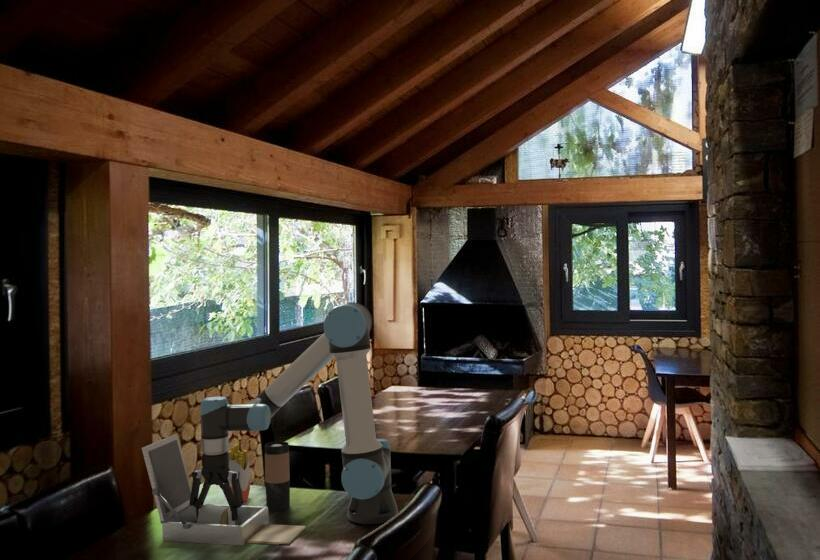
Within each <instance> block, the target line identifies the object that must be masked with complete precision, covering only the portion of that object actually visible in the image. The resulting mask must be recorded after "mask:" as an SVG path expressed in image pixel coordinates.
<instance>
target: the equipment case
mask: <svg viewBox="0 0 820 560" xmlns="http://www.w3.org/2000/svg"><path fill="white" fill-rule="evenodd" d="M180 442H181V441H180V440H179V436H178V433H176V434H172V435H170V436H168V437H166V438H165V437H164V438H163V439H160V440H157V441H155V442H153V443H151V444H148V445H146V446H143V447H141V451H142V455H143V459H144V463H145V466H146V470H147V473H148V479H149V481H150V486H151V489H152V491H151V492H152V496H154V501H155V505H156V508H157V512H158V515H159V520H160V521H159V522H160V524H161V527H162V541H163V542H179V543H195V544H197V543H199V544H214V545H229V546H231V545H232V546H244V545H246V544H247V543H248V540H249V539H250V538H251V537H252V536H254V535H255V534H256V533H257V532H258V531H260V530H261V529H262V528H263V527H264V526H265V525H267V524H269V510H268V507H267V506H264V505H263V506H262V505H261V506H259V505H242V506H241V507H240V508H238V509H237V510H238V518H237V520H235V525H222V524H203V523H197V518H196V508H195V507H194V506H190V505H189V502H190V496H191V489H192V483H191V481H190V476H189V474H188V470H187V465H186V462H185V458H184V453H183V451H182V446H181V444H180ZM203 504H204V505H205V504H206V503H203ZM212 504H213V505H218V506H224V507H228V508H230V506H229V504H215V503H212ZM204 505H202V506H204ZM230 509H231V508H230ZM193 522H194V523H193ZM239 524H240V525H239Z"/></svg>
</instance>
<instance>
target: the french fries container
mask: <svg viewBox="0 0 820 560" xmlns="http://www.w3.org/2000/svg"><path fill="white" fill-rule="evenodd" d="M227 451H228V450H227ZM228 452H229V469H230V471H233V472H236V471H239V472H240V475H239V482H240V487H241V491H242V496H243V501H244V502H245V501H246V500H247V501H248V500H249V495H250V491H251V480H250V477H251V475H250V458H249V453H247V452H248V450H246V449H241V451H240V444H239V443H234V444H233V447H230V450H229V451H228ZM227 479H228V481H229V485H230V488H231V490H232V492H233V488H232V483H231V479H230V476H228V478H227ZM233 494H234V493H233ZM247 501H246V502H247ZM246 502H245V503H246Z"/></svg>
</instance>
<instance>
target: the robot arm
mask: <svg viewBox="0 0 820 560" xmlns="http://www.w3.org/2000/svg"><path fill="white" fill-rule="evenodd" d="M372 325H373V318H372V314H371V313H370V311H369V310H368V309H367V307H365V306H364V305H363V304H360V303H358V302H346V303H345V302H344V303H339V304H338V305H335V306H334V307H332V308H331V309H330V310H329V311H328V313H326V315H325V318H324V321H323V333H322V334H321V335H320V336H319V337H318V338H317V339H316V340H315V341H313V343H312V344H311V345H310V346H309V347H307V348H306V349H305V351H303V352H302V353H301V354H300V355H299V356H298V357H296V359H295V360H294V361H293V362H292V363H291V364H290V365H288V366H287V368H286V369H284V370H283V371H282V372H281V373H280V374H279V375H278V376H277V377H276V378H275V379H273V380H272V382H271V383H269V385H267V386H266V387H265V388H264V389H263V390H262V391H261V392H260V393H259V394H257V395H256V397H254V398H253V399H252V400H250V401H249V402H246V403H242V404H234V403H233V404H232V403H231V404H230V403H229V402H228V398H227V397H226V396H211V397H205V398H203V399H202V400H201V402H200V413H199V416H200V434H201V436H200V437H201V438H200V439H201V441H200V442H201V449H200V451H201V453H202V454H201V466H202V467H201V468H202V469H201V470H200V469H197V470H194V471H193V472H191V476H192V483H191V488H192V489H191V496H190V502H189V505H190V506H194V507H195V508H196V518H197V519H198V514H199V511H200V509H201V508H202V507H203V506H202V505H204V504H205V501H206V499H207V496H208V495H209V491H210V488H211V486H219V488H220V489H221V491H222V492H223V495H224V497H225V499H226V501H227V503H228V504H227V505H229V506H230V508H231V509H229V510H228V525H236V523H235V520H237V518H238V510H237V509H238V508H240V507H241V506H245V505H244V504H245V503H244V501H243V496H242V491H241V487H240V482H239V475H240V472H239V471H236V472H233V471H230V469H229V452H228V450H229V432H258V431H265V430H268V429H269V426H270V424H271V420H272V419H271V418H273V417H274V416H275V414H276V413H277V412H278V411H279V410H280V409H281V408H282V407H284V405H285V404H286V403H288V402H289V400H291V399H292V398H293V397H294V396H295V395H296V394H297V393H298V392H299V391H300V390H302V388H303V387H304V386H306V385H307V383H309V382H310V381H311V380H312V379H313V378H314V377H315V376H316V375H317V374H318V373H320V371H322V370H323V369H324V368H325V367H326V366H328V364H329V363H330V362H331V361H333V360H334V359H335V360H336V368H337V377H338V379H337V380H338V385H339V386H338V388H339V396H340V404H341V412H342V421H343V429H344V437H345V444H344V446H343V447H342V448H341V458H342V459H341V460H342V466H343V467H342V471H341V477H340V478H341V479H340V480H341V485H342V487H343V489H344V491H345V492H346V493H347V494H348V495H349V496H350V499H349V504H348V507H347V513H346V514H347V520H349V521H350V522H352V523H356V524H361V525H380V524H385V523H386V522H385V521H387V520H389V519H390V518H391V517H393V516H394V515H396V514H397V513H399V509H398V505H397V501H396V499H395V497H394V494H393V491H392V469H391V468H392V465H391V451H392V448H391V443H390V441H389V440H388V439H384V438H377V434H376V427H375V426H376V425H375V416H374V409H373V401H372V392H371V385H370V384H371V383H370V375H369V374H370V373H369V366H368V365H369V364H368V357H367V355H368V354H369V352H370V351H371V349H372V345H371V338H370V332H371V329H372ZM228 476H230V479H231V483H232V488H233V492H232V490H231V488H230V485H229V481H228ZM202 477H203V478H204V481H203V483H202V488H201V490H200V487H201V480H202ZM233 493H234V494H233ZM384 522H385V523H384Z"/></svg>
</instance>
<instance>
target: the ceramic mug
mask: <svg viewBox="0 0 820 560" xmlns="http://www.w3.org/2000/svg"><path fill="white" fill-rule="evenodd" d="M204 504H205V505H204V506H203V507H202V508H201V509H200V511H199V514H198V519H197V521H196V523H203V524H222V525H228V510H229V509H230V508H228V507H224V506H218V505H213V504H214V503H204Z"/></svg>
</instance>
